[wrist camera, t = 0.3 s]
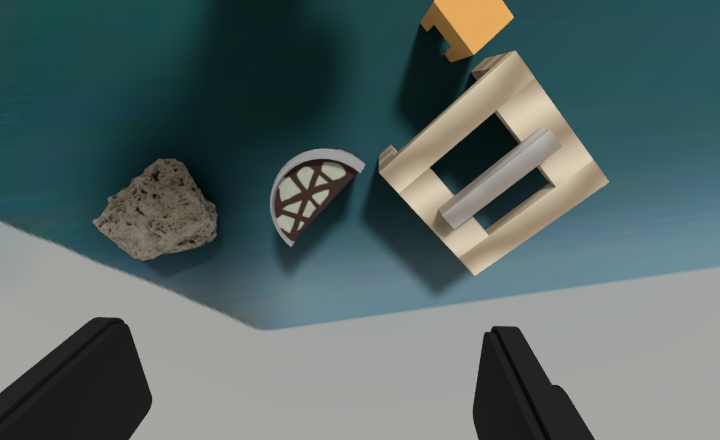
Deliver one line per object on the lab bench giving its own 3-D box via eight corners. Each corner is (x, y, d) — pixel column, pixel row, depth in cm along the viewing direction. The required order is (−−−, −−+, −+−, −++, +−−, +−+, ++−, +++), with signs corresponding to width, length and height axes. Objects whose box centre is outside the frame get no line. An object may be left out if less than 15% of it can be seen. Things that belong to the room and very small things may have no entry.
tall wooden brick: (420, 22, 37) (433, 1, 27) (449, -8, 36) (474, -40, 26) (450, 62, 38) (473, 54, 29) (480, 34, 37) (514, 17, 28)
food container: (330, 116, 41) (316, 124, 32) (367, 150, 42) (364, 168, 33) (270, 187, 45) (242, 214, 35) (306, 217, 46) (288, 250, 37)
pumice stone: (158, 255, 49) (119, 285, 42) (109, 182, 46) (56, 201, 38) (240, 225, 47) (214, 251, 40) (195, 144, 43) (157, 156, 36)
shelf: (378, 155, 42) (378, 177, 32) (485, 58, 38) (524, 48, 27) (457, 241, 46) (479, 285, 36) (562, 162, 41) (622, 187, 31)
